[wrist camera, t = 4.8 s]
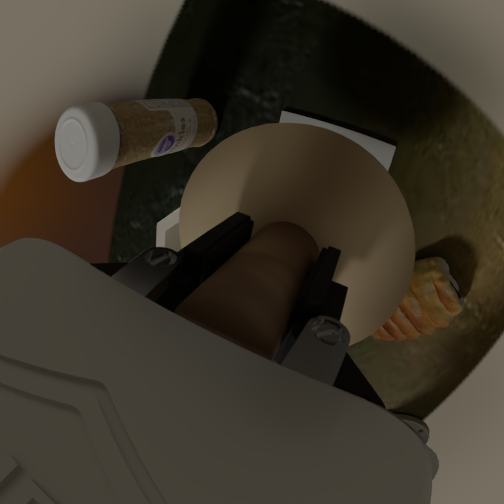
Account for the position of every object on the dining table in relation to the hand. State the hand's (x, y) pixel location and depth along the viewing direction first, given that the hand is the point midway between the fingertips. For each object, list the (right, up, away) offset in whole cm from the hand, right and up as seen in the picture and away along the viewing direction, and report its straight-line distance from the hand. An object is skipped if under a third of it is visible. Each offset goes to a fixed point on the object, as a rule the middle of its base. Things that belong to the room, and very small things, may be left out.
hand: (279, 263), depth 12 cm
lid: (+1, +1, +1) cm, 2 cm away
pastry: (+14, -3, +12) cm, 18 cm away
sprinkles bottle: (-6, +12, +12) cm, 18 cm away
